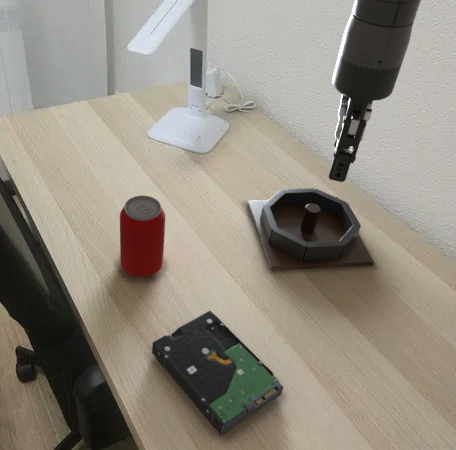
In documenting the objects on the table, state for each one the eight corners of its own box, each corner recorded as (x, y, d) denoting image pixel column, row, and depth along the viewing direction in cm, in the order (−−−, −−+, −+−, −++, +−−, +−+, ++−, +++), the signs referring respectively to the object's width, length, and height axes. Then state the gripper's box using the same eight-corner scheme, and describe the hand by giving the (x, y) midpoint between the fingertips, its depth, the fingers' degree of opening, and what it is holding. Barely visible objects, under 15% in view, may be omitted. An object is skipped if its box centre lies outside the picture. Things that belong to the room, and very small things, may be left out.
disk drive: (150, 355, 75) (222, 439, 66) (150, 342, 73) (224, 427, 64) (208, 321, 80) (282, 395, 71) (209, 308, 78) (286, 382, 69)
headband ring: (334, 200, 101) (338, 187, 99) (366, 257, 90) (371, 244, 88) (253, 203, 100) (256, 190, 98) (275, 262, 88) (279, 248, 86)
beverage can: (144, 245, 92) (146, 187, 84) (171, 267, 88) (175, 209, 80) (112, 262, 88) (110, 203, 80) (138, 287, 84) (139, 228, 76)
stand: (336, 200, 102) (344, 176, 99) (372, 265, 90) (382, 240, 86) (247, 203, 101) (251, 179, 97) (270, 270, 88) (276, 244, 84)
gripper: (403, 83, 62) (363, 197, 72) (403, 36, 72) (368, 143, 82) (335, 71, 63) (305, 185, 74) (344, 28, 74) (317, 133, 84)
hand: (338, 162), depth 78 cm, fingers open, 8 cm apart
